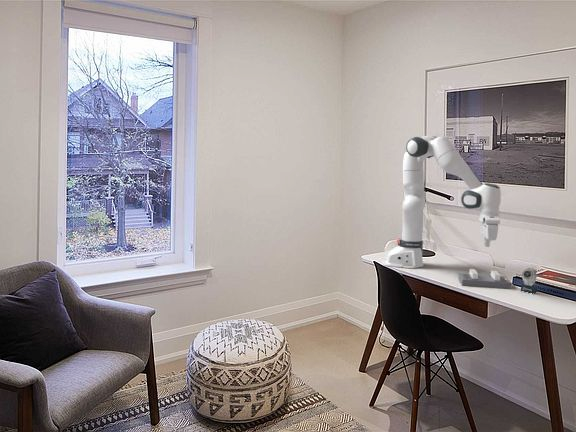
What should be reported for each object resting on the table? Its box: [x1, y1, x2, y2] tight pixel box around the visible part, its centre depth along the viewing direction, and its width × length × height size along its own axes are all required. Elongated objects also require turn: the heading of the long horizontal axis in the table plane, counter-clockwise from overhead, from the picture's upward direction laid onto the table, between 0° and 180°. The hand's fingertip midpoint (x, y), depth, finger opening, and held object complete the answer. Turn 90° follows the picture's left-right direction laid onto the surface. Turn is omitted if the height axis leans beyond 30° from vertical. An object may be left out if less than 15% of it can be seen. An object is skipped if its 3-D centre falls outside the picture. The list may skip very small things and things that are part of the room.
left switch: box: [468, 268, 479, 279], centre depth 238 cm, size 2×9×3 cm, turn 169°
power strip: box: [457, 273, 513, 290], centre depth 238 cm, size 22×12×3 cm, turn 79°
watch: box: [520, 267, 539, 295], centre depth 225 cm, size 6×8×11 cm
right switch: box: [490, 270, 501, 281], centre depth 236 cm, size 2×9×3 cm, turn 169°
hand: (486, 246), depth 235 cm, fingers closed
